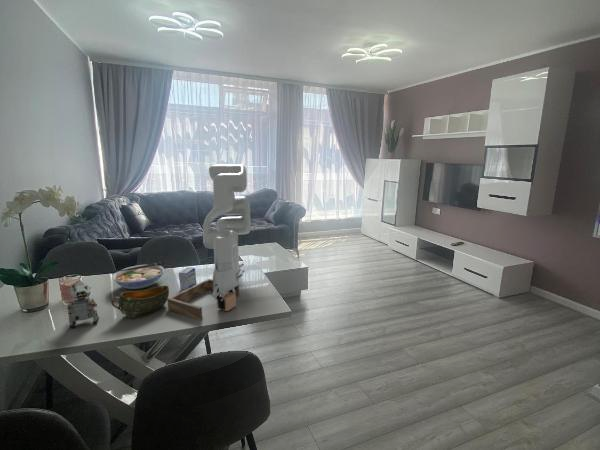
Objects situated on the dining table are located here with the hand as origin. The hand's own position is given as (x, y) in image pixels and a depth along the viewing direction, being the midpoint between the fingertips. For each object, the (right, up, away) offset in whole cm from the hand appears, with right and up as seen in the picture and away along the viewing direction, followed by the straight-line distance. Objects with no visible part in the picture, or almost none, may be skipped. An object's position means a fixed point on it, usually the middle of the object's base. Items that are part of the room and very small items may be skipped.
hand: (226, 305), depth 135 cm
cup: (-34, -3, -2) cm, 34 cm away
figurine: (-53, -4, -10) cm, 54 cm away
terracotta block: (0, -1, 0) cm, 1 cm away
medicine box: (-24, +3, +23) cm, 33 cm away
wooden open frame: (-11, 0, +6) cm, 12 cm away
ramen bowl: (-48, +3, +23) cm, 53 cm away
